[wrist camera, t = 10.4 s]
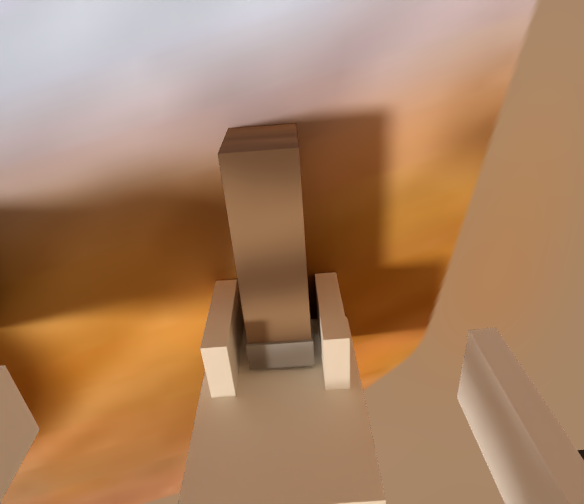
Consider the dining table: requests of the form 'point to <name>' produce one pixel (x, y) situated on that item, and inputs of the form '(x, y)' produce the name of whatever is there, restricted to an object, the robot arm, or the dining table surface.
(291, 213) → the rail
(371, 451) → the cream u-shaped bracket
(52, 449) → the dining table surface
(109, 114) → the dining table surface
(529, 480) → the robot arm
